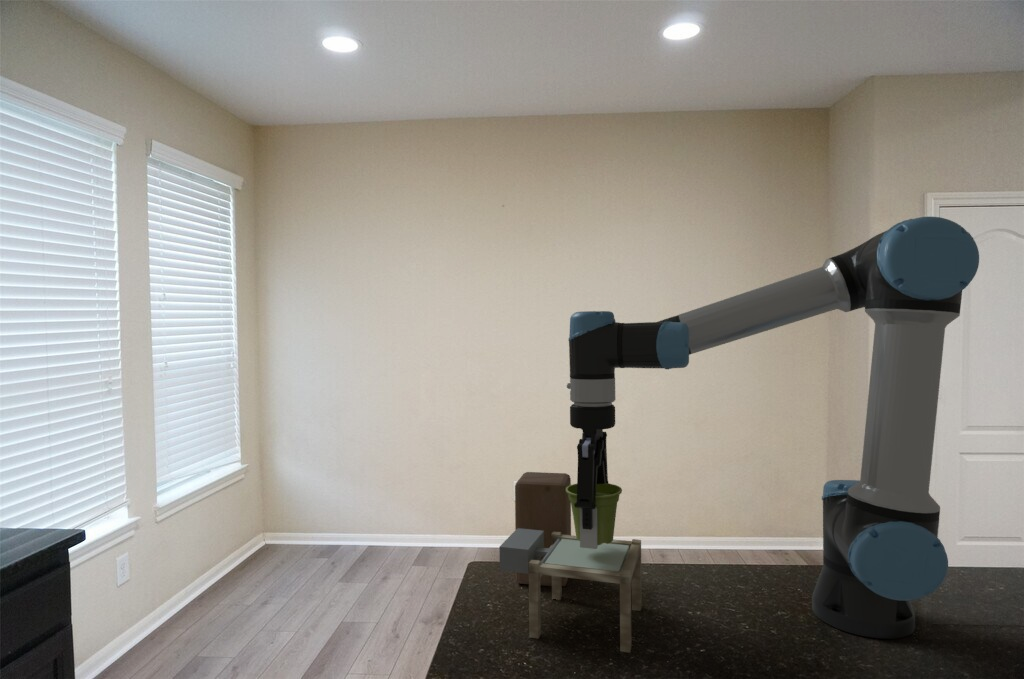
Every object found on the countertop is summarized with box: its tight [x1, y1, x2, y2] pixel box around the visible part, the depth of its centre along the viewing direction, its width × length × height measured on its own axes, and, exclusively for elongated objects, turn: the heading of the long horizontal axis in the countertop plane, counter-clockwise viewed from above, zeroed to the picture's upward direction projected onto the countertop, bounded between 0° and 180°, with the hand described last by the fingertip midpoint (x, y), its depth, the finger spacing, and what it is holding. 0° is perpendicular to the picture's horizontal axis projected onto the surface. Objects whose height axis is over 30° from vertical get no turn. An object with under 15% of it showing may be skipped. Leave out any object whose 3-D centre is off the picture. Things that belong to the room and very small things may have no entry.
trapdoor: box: [499, 528, 629, 574], centre depth 104 cm, size 20×12×4 cm, turn 72°
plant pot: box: [566, 482, 623, 545], centre depth 102 cm, size 9×9×9 cm
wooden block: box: [514, 471, 572, 587], centre depth 121 cm, size 10×10×20 cm
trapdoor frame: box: [528, 532, 643, 654], centre depth 103 cm, size 16×16×12 cm
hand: (593, 538), depth 102 cm, fingers closed on plant pot, 8 cm apart
